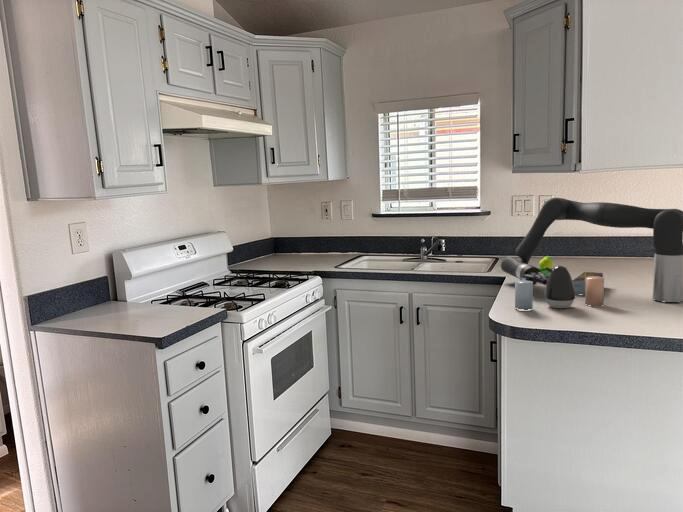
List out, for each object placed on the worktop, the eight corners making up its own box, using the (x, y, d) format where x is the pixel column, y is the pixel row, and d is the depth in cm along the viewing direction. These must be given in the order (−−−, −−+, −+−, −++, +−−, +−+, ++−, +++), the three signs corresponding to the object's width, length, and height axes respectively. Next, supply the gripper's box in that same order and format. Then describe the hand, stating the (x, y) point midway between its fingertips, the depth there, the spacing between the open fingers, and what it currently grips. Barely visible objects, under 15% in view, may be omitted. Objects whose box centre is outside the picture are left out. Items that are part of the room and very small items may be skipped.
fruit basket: (546, 277, 241) (547, 253, 239) (560, 280, 232) (560, 255, 230) (526, 279, 237) (526, 255, 235) (539, 283, 229) (539, 257, 227)
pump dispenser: (549, 302, 195) (549, 262, 193) (578, 305, 189) (579, 264, 187) (539, 308, 188) (540, 266, 185) (569, 312, 181) (570, 269, 179)
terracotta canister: (606, 304, 189) (606, 277, 187) (599, 307, 185) (600, 280, 183) (589, 302, 193) (589, 275, 192) (582, 305, 189) (582, 278, 188)
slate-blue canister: (535, 308, 188) (535, 281, 186) (527, 312, 183) (527, 284, 182) (520, 306, 192) (520, 279, 190) (511, 309, 188) (511, 282, 186)
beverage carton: (570, 294, 206) (570, 278, 205) (583, 285, 221) (583, 270, 220) (592, 297, 201) (592, 280, 200) (603, 287, 216) (604, 271, 215)
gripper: (512, 265, 213) (529, 273, 196) (544, 264, 214) (564, 271, 197) (512, 283, 214) (529, 293, 197) (543, 281, 215) (563, 291, 198)
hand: (546, 282), depth 197 cm, fingers closed
